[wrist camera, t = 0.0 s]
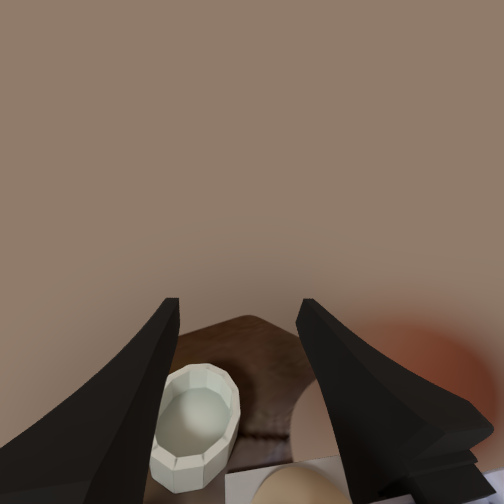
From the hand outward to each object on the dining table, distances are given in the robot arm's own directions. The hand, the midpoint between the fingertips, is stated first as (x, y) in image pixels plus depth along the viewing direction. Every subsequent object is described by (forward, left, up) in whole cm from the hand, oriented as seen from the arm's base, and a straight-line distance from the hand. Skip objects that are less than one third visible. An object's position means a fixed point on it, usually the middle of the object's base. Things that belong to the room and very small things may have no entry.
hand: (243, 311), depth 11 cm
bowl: (+5, +3, -22) cm, 23 cm away
